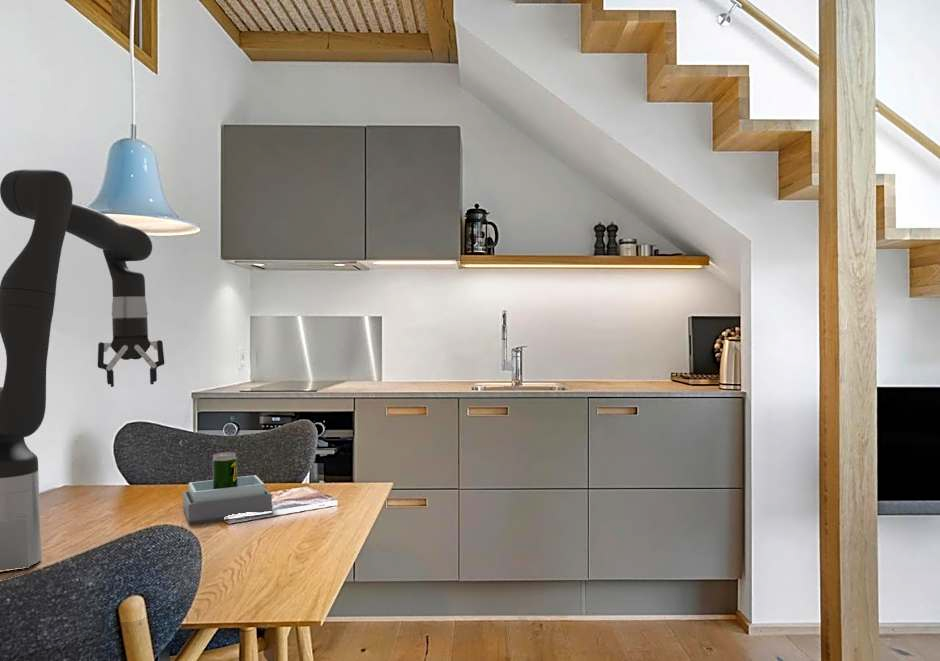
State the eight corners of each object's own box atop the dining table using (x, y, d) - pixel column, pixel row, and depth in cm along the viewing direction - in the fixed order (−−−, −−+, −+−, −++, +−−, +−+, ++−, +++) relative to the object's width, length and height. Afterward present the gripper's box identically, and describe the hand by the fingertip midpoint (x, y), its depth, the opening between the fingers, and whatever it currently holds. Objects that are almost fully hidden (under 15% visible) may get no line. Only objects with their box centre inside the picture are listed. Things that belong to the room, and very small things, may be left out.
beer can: (213, 509, 172) (211, 457, 172) (214, 503, 177) (212, 453, 177) (237, 507, 173) (236, 455, 173) (238, 501, 179) (236, 451, 178)
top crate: (265, 509, 174) (264, 483, 174) (194, 519, 167) (193, 492, 167) (256, 499, 184) (255, 475, 184) (189, 507, 177) (188, 482, 177)
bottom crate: (272, 513, 173) (271, 494, 173) (189, 525, 165) (188, 504, 165) (261, 500, 186) (260, 482, 186) (183, 510, 178) (182, 491, 178)
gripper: (161, 315, 183) (163, 382, 183) (96, 317, 177) (98, 386, 177) (163, 315, 176) (165, 384, 176) (95, 317, 170) (98, 388, 170)
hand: (132, 385), depth 177 cm, fingers open, 8 cm apart
